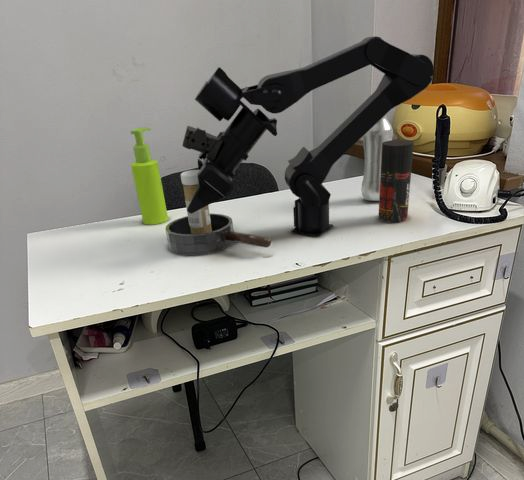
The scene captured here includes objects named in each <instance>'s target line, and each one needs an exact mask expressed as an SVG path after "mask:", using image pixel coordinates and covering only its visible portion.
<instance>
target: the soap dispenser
mask: <svg viewBox="0 0 524 480" xmlns="http://www.w3.org/2000/svg"><path fill="white" fill-rule="evenodd" d="M151 129H152V127H148V126H146V127H135V128H134V129H132V130H130V134H131V135H134V140H135V144H134V146H133V147H132V149H133V153H134V154H133V155H134V158H135V161H134V162H132V163H130V166H131V171H132V177H133V183H134V185H135V190H136V191H135V192H136V195H137V199H138V204H139V209H140V214H141V219H142V223H143V224H144V225H148V226H149V225H160V224H163V223H166V222H167V221H168V220H169V216H168V211H167V204H166V199H165V193H164V187H163V183H162V177H161V172H160V167H159V161H158V160H157V159H152V155H151V150H150V145H149V144H148V143H146V142H145V140H144V135H143V133H144V132H145V131H146V132H147V131H151Z"/></svg>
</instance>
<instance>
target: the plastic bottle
mask: <svg viewBox="0 0 524 480" xmlns="http://www.w3.org/2000/svg"><path fill="white" fill-rule="evenodd" d="M387 116H389V112H388V113H387V114H386V115H385V116H384V117H383V118H382V119H380V120H379V121H378V122H377V123H376V124H375V125H374V126H373V127H372V128H371V129H370V130H369V131H368V132H367V133H366V134H365V135H364V136H363V137H362V142H363V143H362V144H363V154H364V155H363V156H364V166H363V176H362V177H363V179H362V182H361V186H360V187H361V188H360V191H361V196H362V198H363V199H364V200H366V201H373V202H374V201H375V202H377V201H378V202H379V197H380V177H381V158H382V143H383V142H386V141H391V140H393V137H394V130H393V126H392V125H391V122H390V121H389V120H388V118H387Z"/></svg>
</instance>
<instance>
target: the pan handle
mask: <svg viewBox="0 0 524 480" xmlns="http://www.w3.org/2000/svg"><path fill="white" fill-rule="evenodd" d="M221 235H222V241H223V242H225V241H227V240H228V241H233V242H234V243H239V244H245V245H251V246H256V247H261V248H270V247H271V245H272V240H271V238H269V237H266V236H261V235H255V234H248V233H242V232H238V231H237V232H236V231H234V232H232V231H230V229H228V230H226V231H224V232H221Z"/></svg>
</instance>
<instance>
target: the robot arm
mask: <svg viewBox="0 0 524 480" xmlns="http://www.w3.org/2000/svg"><path fill="white" fill-rule="evenodd" d="M369 66H372V67H373V68H375V69H376V70H378V71H379V72H381V73H383V76H382V78H381V80H380V82H379V83H378V85H377V88H375V90H374V91H373V93H372V94H370V96H368V97H367V98H366V99H365V101H364V102H362V103H361V104H360V105H359V106H358V107H357V108H356V109H355V110H354V111H353V112H352V113H351V114H350V115H349V116H348V117H347V118H346V119H344V121H343V122H342V123H341V124H340V125H339V126H338V127H337V128H336V129H335V130H333V132H332V133H331V134H330V135H328V137H326V139H325V140H323V141H322V142H321V144H319V146H316V147H315V148H313V149H311V150H308V149H307V148H306V147H305V146H303V147H301V148H300V150H299V151H298V153H297V154H295V156H294V157H293V158H290V159H288V160H287V162H288V163H289V164H288V165H287V167H286V168H285V171H284V181H285V184H286V185H287V187H288V188H289V190H290V191H291V193H292V194H293V195H294V196H295V197H297V199H295V200H294V206H293V209H292V210H293V211H292V212H293V227H294V228H292V229H291V233H293V234H298V235H299V234H300V235H306V236H312V237H320V236H321V235H323V234H325V233H326V232H328V231H329V230H331V229H332V228H334V224H332V223H330V199H331V195H332V194H331V193H330V191H329V190H328V189H327V188H326V187H325V186H324V185H323V183H324V181H326V179H327V177H328V175H329V173H330V172H331V169H332V168H333V166H334V165H335V164H336V162H338V161H339V159H341V158H342V157H343V156H344V155H345V154H346V153H347V152H348V151H349V150H350V149H351V148H352V147H353V146H354V145H356V143H358V141H360V139H363V136H364V135H365V134H366V133H367V132H368V131H369V130H370V129H371V128H372V127H373V126H374V125H375V124H376V123H377V122H378V121H379V120H380V119H382V118H383V117H384V116H385V115H386V114H387V113H388V114H389V112H390V111H391V110H393V109H394V108H396V107H398V106H400V105H402V104H404V103H405V102H407V101H410V100H412V99H413V98H414V97H416V96H417V95H419V94H420V93H422V92H423V91H424V90H426V89H427V88H428V87H429V86H430V84H431V83H432V81H433V80H434V78H433V77H434V73H435V72H434V71H435V70H434V69H435V68H434V64H433V61H432V59H431V58H430V57H429V56H427V55H425V54H414V53H413V54H412V53H409V52H408V51H405V50H403V49H401V48H399V47H397V46H395V45H394V44H391V43H389V42H387V41H386V40H384V39H383V38H382V37H381V36H368V37H364V38H363V39H362V40H361V41H359V42H357V43H354V44H352V45H350V46H348V47H345V48H343V49H341V50H339V51H336V52H334V53H332V54H331V55H328V56H326V57H324V58H321V59H319V60H316V61H315V62H312V63H310V64H308V65H305V66H303V67H299V68H296V69H290V70H284V71H280V72H276V73H272V74H267V75H264V76H263V77H262V78H261V79H260V80H259V81H258V83H257V84H254V85H250V86H247V85H245V87H243V88H241V87H240V86H239V85H237V83H236V82H234V81H233V80H232V78H231V77H229V75H228V74H227V73H226V71H224V70H223V69H222V67H220V66H218V67H217V68H216V70H215V71H214V72H213V73H212V75H211V76H210V78H209V79H207V80H206V81H205V82H204V84H203V86H202V87H201V88H200V89H199V91H198V93H197V94H196V96H195V98H194V101H196V102H197V103H198V104H199V105H200V106H201V107H202V108H204V109H205V110H206V111H207V112H208V113H209V114H211V115H212V116H213V118H215V119H216V120H217V121H218V122H221V121H223V120H225V121H226V122H228V121H230V120H231V119H232V117H233V116H234V115H235V114H236V115H235V117H234V118H233V119H232V121H231V122H230V124H229V125H228V126H227V128H226V129H225V130H222V131H219V132H218V134H217V136H216V135H214V134H211V133H209V132H207V130H206V129H201V128H200V127H193V126H190V125H187V126H186V129H185V133H184V137H183V140H182V147H183V148H185V149H187V150H194V151H196V152H199V154H198V158H197V167H198V169H197V170H200V171H199V173H198V182H199V186H198V188H197V190H196V192H195V194H194V196H193V198H192V200H191V202H190V204H189V206H188V208H186V212H187V211H188V212H189V213H190V214H192V213H194V212H196V211H198V210H200V209H202V208H203V207H205V206H207V205H208V206H209V205H212V204H213V203H215V202H218V201H220V200H221V199H222V200H224V198H228V197H229V196H230V195H231V193H232V192H233V191H234V183H233V177H234V176H235V175H236V173H235V171H236V170H237V168H239V166H240V165H241V163H242V162H243V161H247V160H248V158H249V154H250V152H251V151H252V149H253V148H254V147H255V145H256V144H257V143H258V142H259V140H260V139H261V138H262V137H263V135H264V134H265V132H266V131H268V132H269V133H270V134H271V135H272V136H274V137H277V136H278V129H277V128H278V127H277V124H278V119H276V117H272V118H269V117H268V116H267V114H266V113H264V112H263V111H262V110H261V109H260V108H256V109H254V110H251V108H249V106H247V104H245V102H243V100H242V99H243V98H244V99H245V100H246V101H247V102H248V103H249V104H250V105H254V106H261V107H262V108H263V109H264V110H265V111H266V112H268V113H270V114H280V113H282V112H284V111H286V110H287V109H289V108H290V107H292V106H293V105H295V104H297V103H298V102H299V101H300V100H301V99H302V98H303V97H305V96H306V95H307V94H309V93H310V92H312V91H314V90H316V89H318V88H321V87H323V86H325V85H327V84H330V83H332V82H335V81H337V80H339V79H341V78H343V77H346V76H347V75H350V74H352V73H354V72H356V71H359V70H361V69H364V68H367V67H369ZM240 106H241V109H240V110H239V108H240ZM238 110H239V111H238ZM237 111H238V113H237Z"/></svg>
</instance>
